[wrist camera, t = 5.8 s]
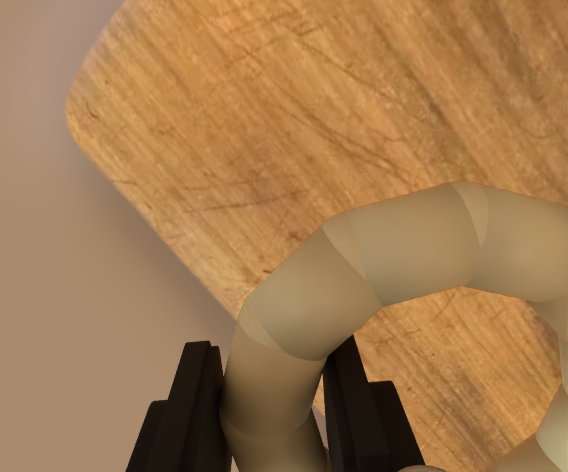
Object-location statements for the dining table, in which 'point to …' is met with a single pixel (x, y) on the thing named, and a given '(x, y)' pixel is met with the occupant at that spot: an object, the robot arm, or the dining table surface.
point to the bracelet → (382, 292)
